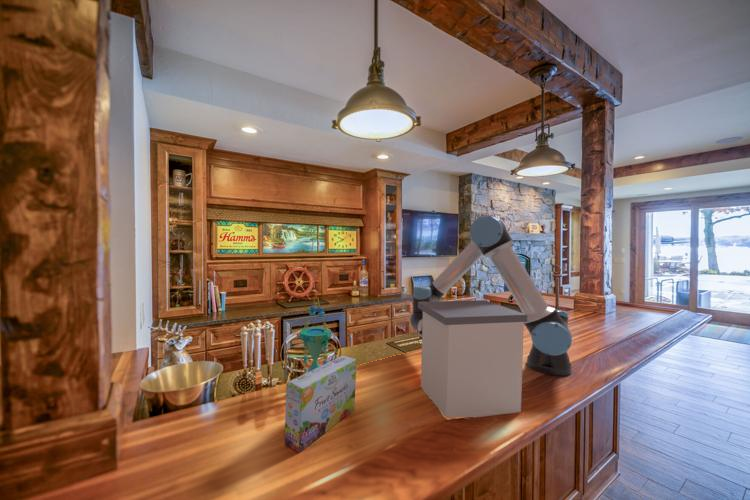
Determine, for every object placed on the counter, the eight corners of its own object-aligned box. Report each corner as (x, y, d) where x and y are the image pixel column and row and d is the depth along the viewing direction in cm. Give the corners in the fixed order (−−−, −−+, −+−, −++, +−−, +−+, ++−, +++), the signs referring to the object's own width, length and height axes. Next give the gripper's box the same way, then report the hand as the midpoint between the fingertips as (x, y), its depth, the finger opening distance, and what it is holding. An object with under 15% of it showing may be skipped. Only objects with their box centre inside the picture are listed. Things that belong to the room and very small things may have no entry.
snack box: (300, 455, 66) (301, 388, 66) (283, 445, 69) (284, 381, 69) (356, 410, 84) (357, 357, 84) (340, 404, 87) (341, 353, 87)
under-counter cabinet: (482, 378, 106) (485, 300, 105) (523, 411, 85) (527, 314, 85) (415, 384, 101) (417, 301, 100) (442, 421, 80) (445, 317, 79)
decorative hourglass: (338, 385, 99) (339, 295, 98) (318, 401, 89) (320, 301, 88) (311, 378, 103) (312, 292, 102) (289, 392, 93) (291, 297, 93)
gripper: (453, 337, 121) (485, 359, 99) (404, 339, 117) (426, 363, 95) (454, 319, 121) (486, 336, 99) (405, 320, 117) (427, 339, 94)
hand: (456, 349), depth 97 cm, fingers closed on orange juice, 8 cm apart
